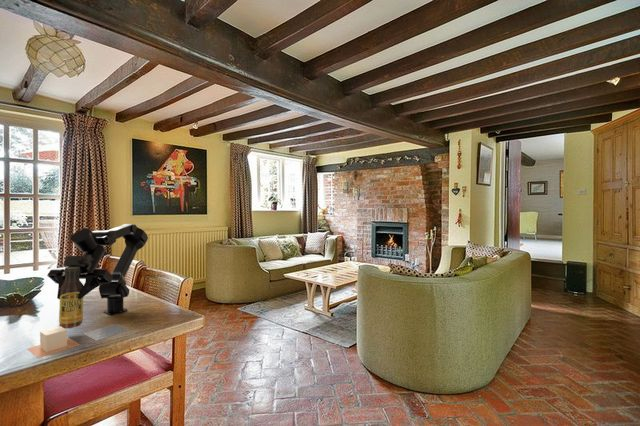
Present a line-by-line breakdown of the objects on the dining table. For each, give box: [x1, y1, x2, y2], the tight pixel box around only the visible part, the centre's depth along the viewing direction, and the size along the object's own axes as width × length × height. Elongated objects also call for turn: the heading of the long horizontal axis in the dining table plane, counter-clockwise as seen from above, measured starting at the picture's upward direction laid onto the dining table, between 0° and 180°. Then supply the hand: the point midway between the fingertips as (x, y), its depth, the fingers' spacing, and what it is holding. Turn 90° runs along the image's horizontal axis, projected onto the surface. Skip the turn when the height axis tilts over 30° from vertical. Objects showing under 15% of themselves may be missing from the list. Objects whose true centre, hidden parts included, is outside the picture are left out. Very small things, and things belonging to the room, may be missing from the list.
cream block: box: [39, 326, 68, 352], centre depth 95 cm, size 5×5×5 cm
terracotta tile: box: [26, 336, 81, 359], centre depth 95 cm, size 10×10×1 cm
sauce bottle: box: [58, 266, 84, 330], centre depth 103 cm, size 7×6×20 cm
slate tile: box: [82, 323, 130, 342], centre depth 106 cm, size 10×10×1 cm
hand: (68, 298), depth 102 cm, fingers closed on sauce bottle, 6 cm apart
